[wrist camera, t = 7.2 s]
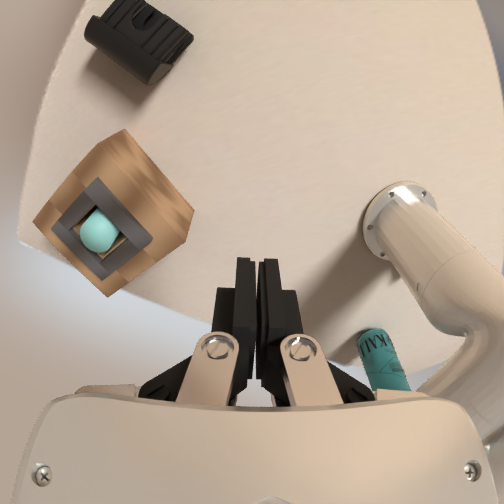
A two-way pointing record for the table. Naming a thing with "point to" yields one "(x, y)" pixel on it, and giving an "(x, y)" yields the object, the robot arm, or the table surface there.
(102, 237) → the peg
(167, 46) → the end cap
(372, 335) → the beverage bottle
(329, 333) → the table surface
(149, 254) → the socket block
